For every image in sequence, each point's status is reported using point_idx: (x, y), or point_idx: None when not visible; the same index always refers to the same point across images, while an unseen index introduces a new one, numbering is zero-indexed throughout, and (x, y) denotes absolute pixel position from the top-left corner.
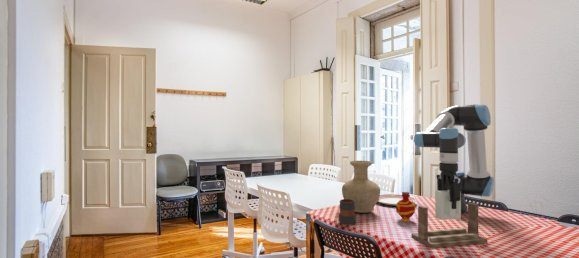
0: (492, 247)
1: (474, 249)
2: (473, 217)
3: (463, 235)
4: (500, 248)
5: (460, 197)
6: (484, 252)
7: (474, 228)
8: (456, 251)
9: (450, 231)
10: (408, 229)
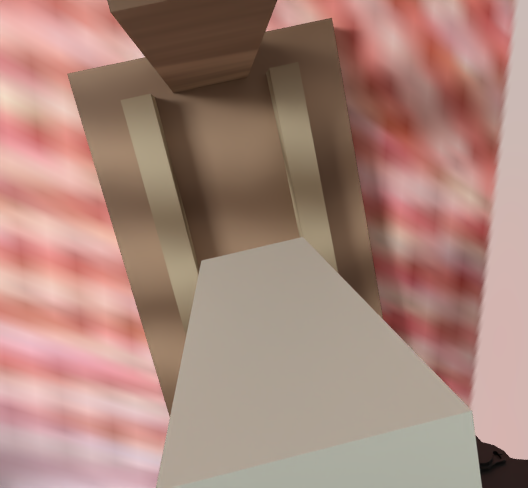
0: (420, 54)
1: (443, 206)
2: (243, 44)
3: (324, 215)
4: (443, 5)
5: (396, 342)
6: (496, 171)
7: (251, 66)
8: (463, 334)
9: (194, 255)
10: (29, 479)
